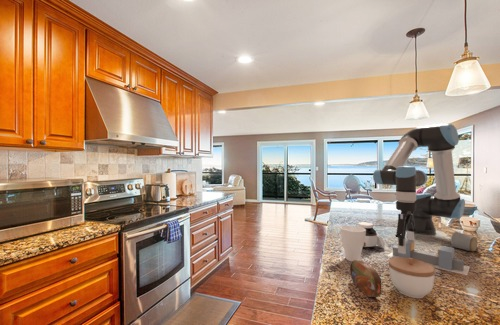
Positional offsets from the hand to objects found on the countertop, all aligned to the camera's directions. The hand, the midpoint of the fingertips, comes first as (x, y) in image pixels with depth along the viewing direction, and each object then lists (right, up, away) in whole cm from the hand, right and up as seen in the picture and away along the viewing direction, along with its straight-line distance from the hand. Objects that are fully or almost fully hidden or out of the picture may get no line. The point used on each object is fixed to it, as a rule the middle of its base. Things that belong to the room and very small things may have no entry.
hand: (406, 249), depth 108 cm
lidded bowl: (-17, -4, -29) cm, 33 cm away
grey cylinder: (+36, -4, +12) cm, 38 cm away
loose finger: (0, -3, 0) cm, 3 cm away
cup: (-24, -4, -1) cm, 24 cm away
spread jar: (-9, -4, +15) cm, 18 cm away
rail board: (+6, -4, -4) cm, 8 cm away
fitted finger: (+10, -3, -10) cm, 14 cm away
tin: (-31, -4, -27) cm, 41 cm away
